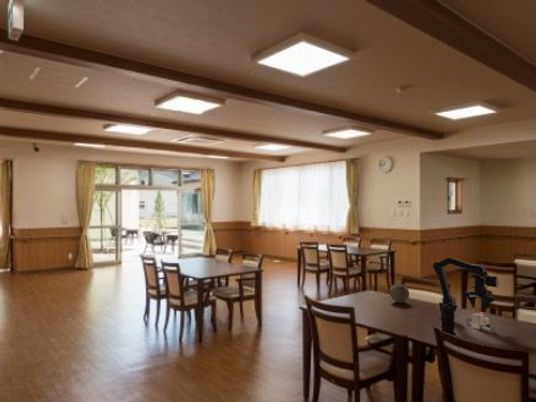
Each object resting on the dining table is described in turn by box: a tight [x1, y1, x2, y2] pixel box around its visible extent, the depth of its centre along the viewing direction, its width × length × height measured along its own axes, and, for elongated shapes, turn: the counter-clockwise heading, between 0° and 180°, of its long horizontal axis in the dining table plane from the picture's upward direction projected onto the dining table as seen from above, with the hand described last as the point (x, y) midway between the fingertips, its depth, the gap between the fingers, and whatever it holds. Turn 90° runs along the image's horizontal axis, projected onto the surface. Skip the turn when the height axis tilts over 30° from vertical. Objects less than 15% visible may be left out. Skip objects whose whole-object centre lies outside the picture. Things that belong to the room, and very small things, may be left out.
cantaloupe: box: [389, 283, 410, 304], centre depth 316 cm, size 14×14×15 cm
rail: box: [465, 317, 497, 335], centre depth 254 cm, size 3×20×4 cm, turn 17°
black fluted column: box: [438, 302, 458, 338], centre depth 235 cm, size 8×8×20 cm
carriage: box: [471, 313, 487, 330], centre depth 256 cm, size 6×5×8 cm
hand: (479, 309), depth 257 cm, fingers open, 9 cm apart
